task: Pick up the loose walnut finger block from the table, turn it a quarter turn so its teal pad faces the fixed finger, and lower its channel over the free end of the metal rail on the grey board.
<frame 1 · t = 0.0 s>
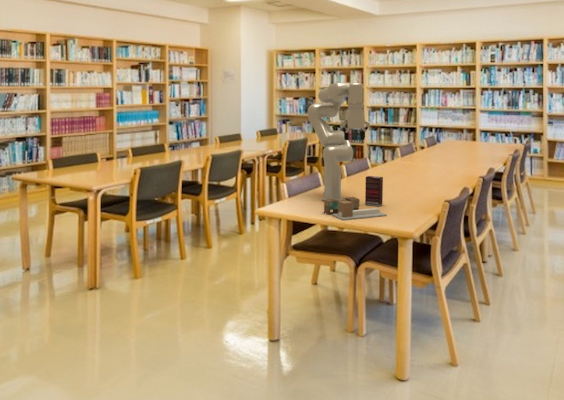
hand: (354, 139, 308), 37 cm above the table, tool pointing down, fingers open, 9 cm apart
finger block: (331, 213, 302), on the table
supplement box: (373, 205, 322), on the table
rail board: (359, 215, 296), on the table
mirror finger: (351, 211, 306), on the table
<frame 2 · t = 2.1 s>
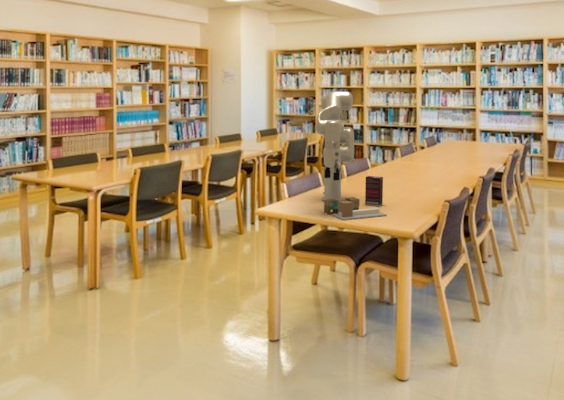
hand: (331, 179, 298), 18 cm above the table, tool pointing down, fingers open, 9 cm apart
nothing on the table moved.
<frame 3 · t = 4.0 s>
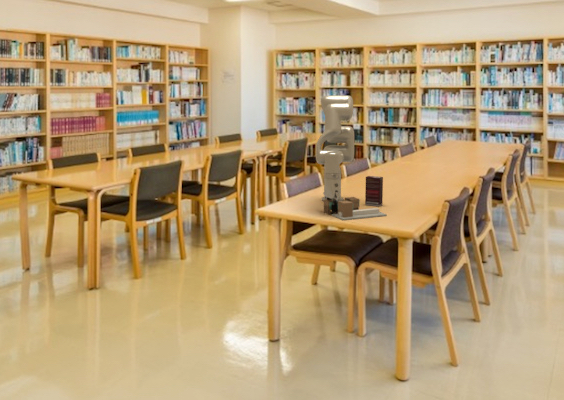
hand: (331, 210, 301), 2 cm above the table, tool pointing down, fingers closed on finger block, 5 cm apart
finger block: (331, 213, 302), on the table, touching gripper
everything else where it was.
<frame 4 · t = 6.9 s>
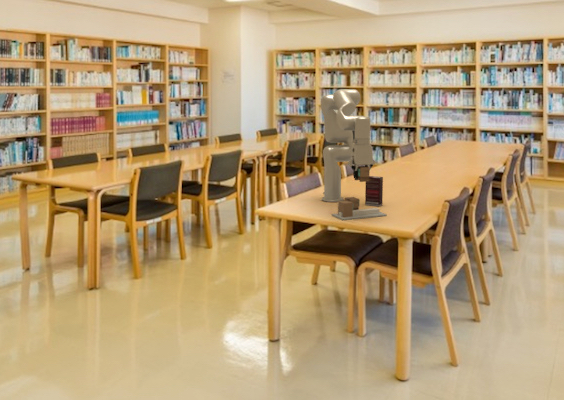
hand: (361, 177, 293), 19 cm above the table, tool pointing down, fingers closed on finger block, 5 cm apart
finger block: (361, 180, 293), point 18 cm above the table, touching gripper
everything else where it was.
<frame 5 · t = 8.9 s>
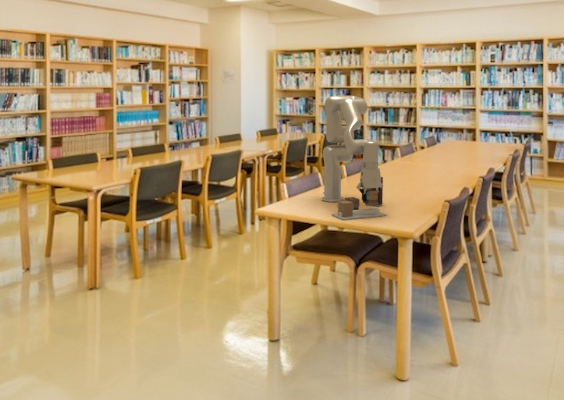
hand: (369, 200, 297), 7 cm above the table, tool pointing down, fingers closed on finger block, 5 cm apart
finger block: (370, 203, 297), point 6 cm above the table, touching gripper
everything else where it was.
when the fingers open (4 cm above the table, at t = 10.1 s): finger block drops 1 cm, resting on rail board.
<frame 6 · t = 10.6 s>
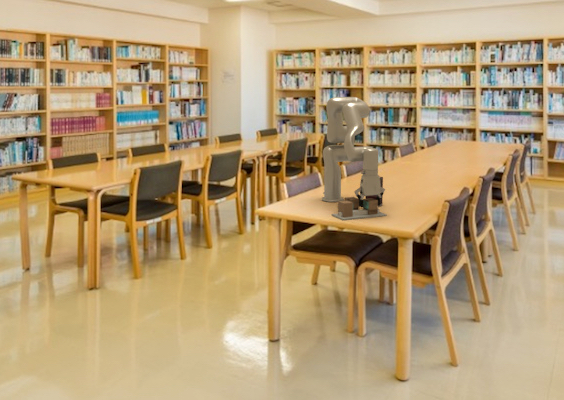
hand: (369, 206, 297), 5 cm above the table, tool pointing down, fingers open, 9 cm apart
finger block: (370, 213, 298), point 1 cm above the table, touching rail board
everything else where it was.
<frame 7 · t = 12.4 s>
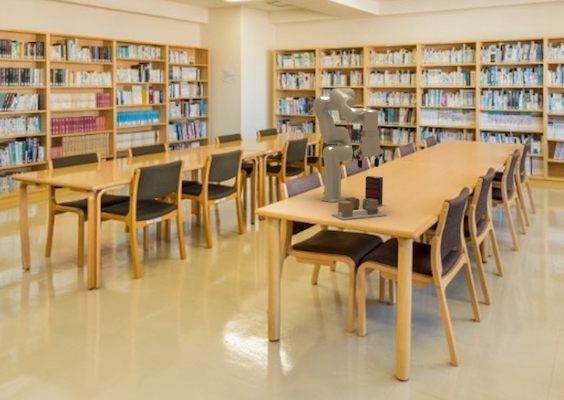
hand: (368, 167, 302), 23 cm above the table, tool pointing down, fingers open, 9 cm apart
nothing on the table moved.
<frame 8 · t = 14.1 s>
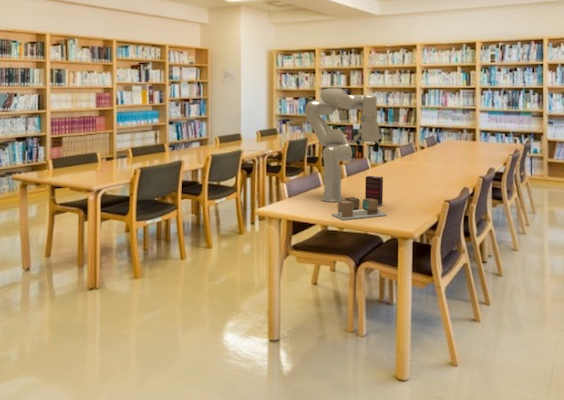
hand: (368, 152, 308), 30 cm above the table, tool pointing down, fingers open, 9 cm apart
nothing on the table moved.
at the end: finger block 0.5 cm from the target spot on the rail board, point 0.8 cm above the rail board's base; finger block tilted 0°; the gripper is holding nothing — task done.
